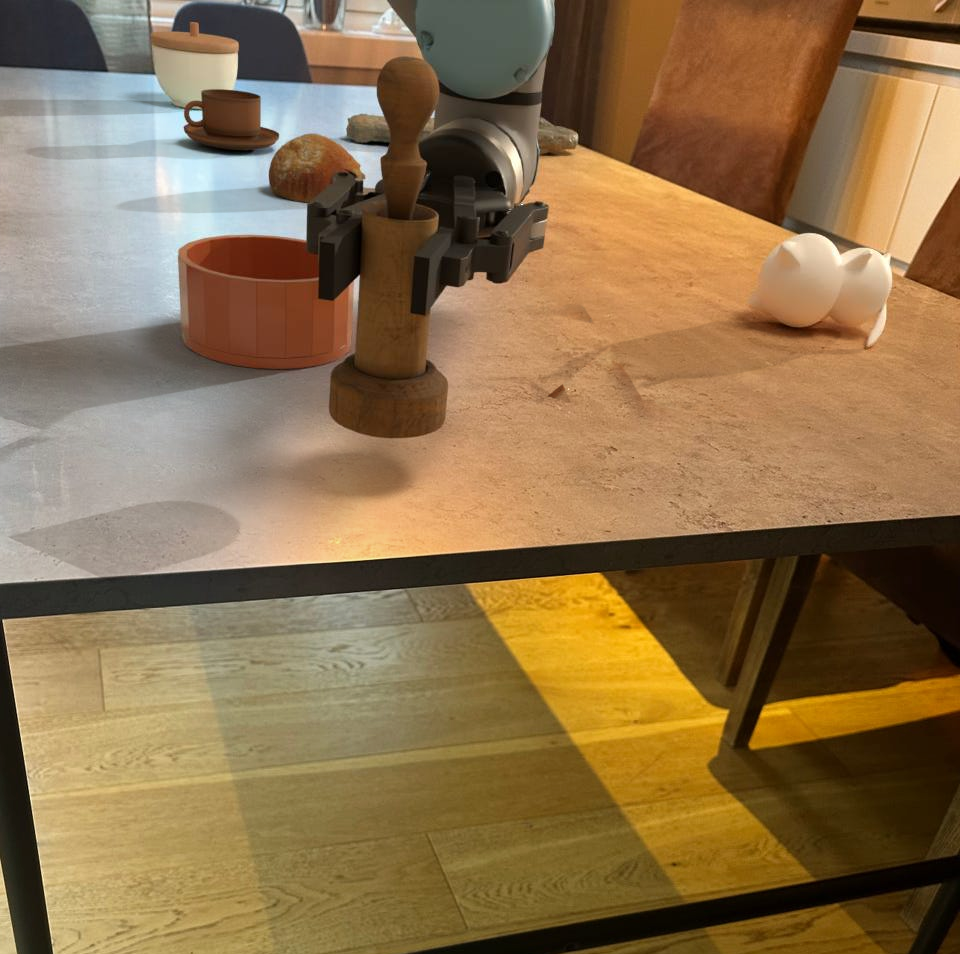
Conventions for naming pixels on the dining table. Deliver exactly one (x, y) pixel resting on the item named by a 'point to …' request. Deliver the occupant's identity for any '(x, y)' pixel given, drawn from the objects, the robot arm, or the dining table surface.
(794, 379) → the dining table surface
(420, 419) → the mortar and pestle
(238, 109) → the cup and saucer
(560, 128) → the long grey stone
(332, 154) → the bread roll
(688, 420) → the dining table surface
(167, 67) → the lidded bowl
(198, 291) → the crock
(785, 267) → the cat figurine
